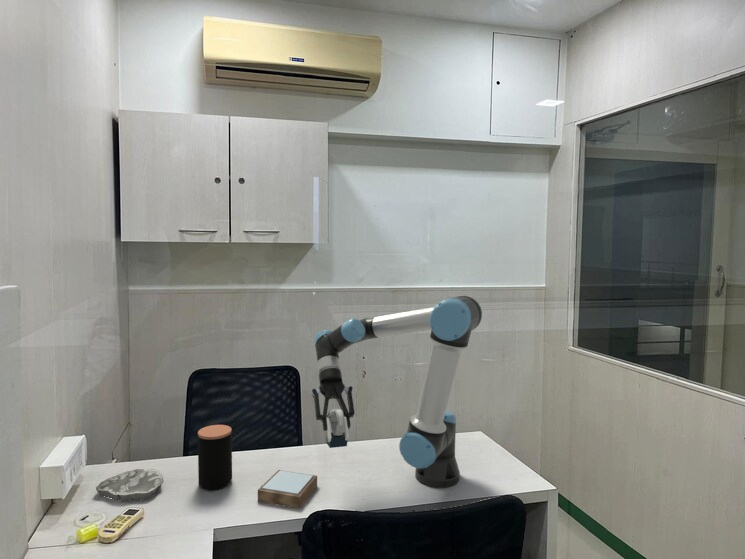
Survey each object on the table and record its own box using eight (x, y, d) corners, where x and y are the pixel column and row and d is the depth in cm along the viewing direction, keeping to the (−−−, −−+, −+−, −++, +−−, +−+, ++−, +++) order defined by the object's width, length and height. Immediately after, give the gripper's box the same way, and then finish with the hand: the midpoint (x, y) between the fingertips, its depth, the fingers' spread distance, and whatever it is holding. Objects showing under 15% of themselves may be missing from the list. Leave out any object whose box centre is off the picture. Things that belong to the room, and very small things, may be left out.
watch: (341, 438, 155) (342, 405, 155) (348, 448, 148) (350, 413, 147) (324, 440, 153) (325, 406, 153) (331, 450, 146) (332, 414, 145)
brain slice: (175, 478, 163) (175, 470, 162) (148, 505, 146) (148, 496, 146) (119, 476, 164) (119, 467, 164) (86, 502, 147) (86, 493, 147)
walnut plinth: (317, 486, 158) (317, 474, 157) (299, 508, 144) (299, 495, 144) (278, 480, 162) (278, 468, 161) (257, 501, 148) (257, 488, 148)
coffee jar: (238, 483, 159) (237, 430, 158) (208, 495, 152) (207, 439, 150) (221, 472, 167) (221, 422, 165) (192, 483, 159) (191, 430, 158)
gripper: (353, 376, 167) (364, 441, 152) (302, 379, 162) (308, 447, 147) (357, 365, 161) (368, 431, 146) (304, 368, 157) (310, 436, 142)
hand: (338, 439), depth 147 cm, fingers closed on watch, 5 cm apart
